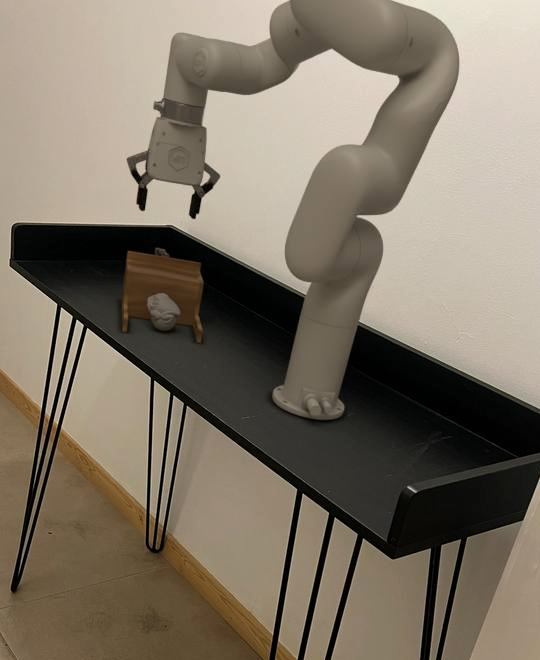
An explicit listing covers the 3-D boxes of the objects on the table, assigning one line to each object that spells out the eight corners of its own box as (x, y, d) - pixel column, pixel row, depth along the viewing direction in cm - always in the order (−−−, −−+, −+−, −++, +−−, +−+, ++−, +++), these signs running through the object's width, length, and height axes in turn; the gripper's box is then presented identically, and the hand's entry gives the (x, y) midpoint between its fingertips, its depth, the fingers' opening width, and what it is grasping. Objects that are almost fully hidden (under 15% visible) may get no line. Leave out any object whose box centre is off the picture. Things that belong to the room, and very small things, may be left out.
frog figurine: (153, 321, 169) (158, 287, 166) (183, 332, 167) (189, 297, 164) (137, 327, 164) (142, 292, 161) (168, 338, 162) (174, 302, 159)
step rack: (200, 343, 163) (210, 289, 158) (122, 331, 160) (129, 277, 155) (192, 311, 180) (200, 262, 175) (121, 300, 177) (127, 250, 172)
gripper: (137, 107, 142) (123, 211, 151) (234, 126, 148) (216, 225, 156) (130, 101, 148) (118, 201, 157) (224, 120, 154) (207, 215, 162)
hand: (167, 213), depth 156 cm, fingers open, 9 cm apart
